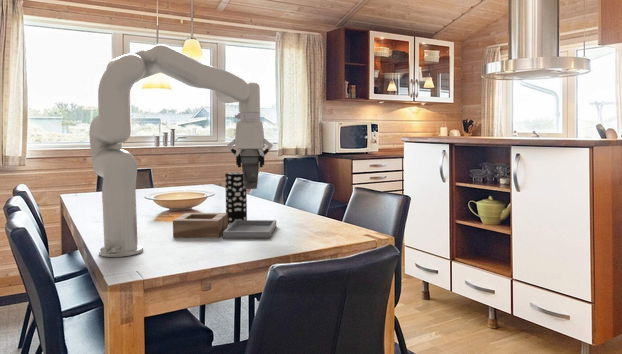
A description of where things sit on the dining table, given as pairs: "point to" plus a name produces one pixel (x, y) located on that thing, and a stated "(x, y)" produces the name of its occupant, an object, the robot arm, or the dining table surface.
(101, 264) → the dining table surface
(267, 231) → the slate tray
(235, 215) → the spotted tube
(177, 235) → the walnut sleeve
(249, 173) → the beverage cup
